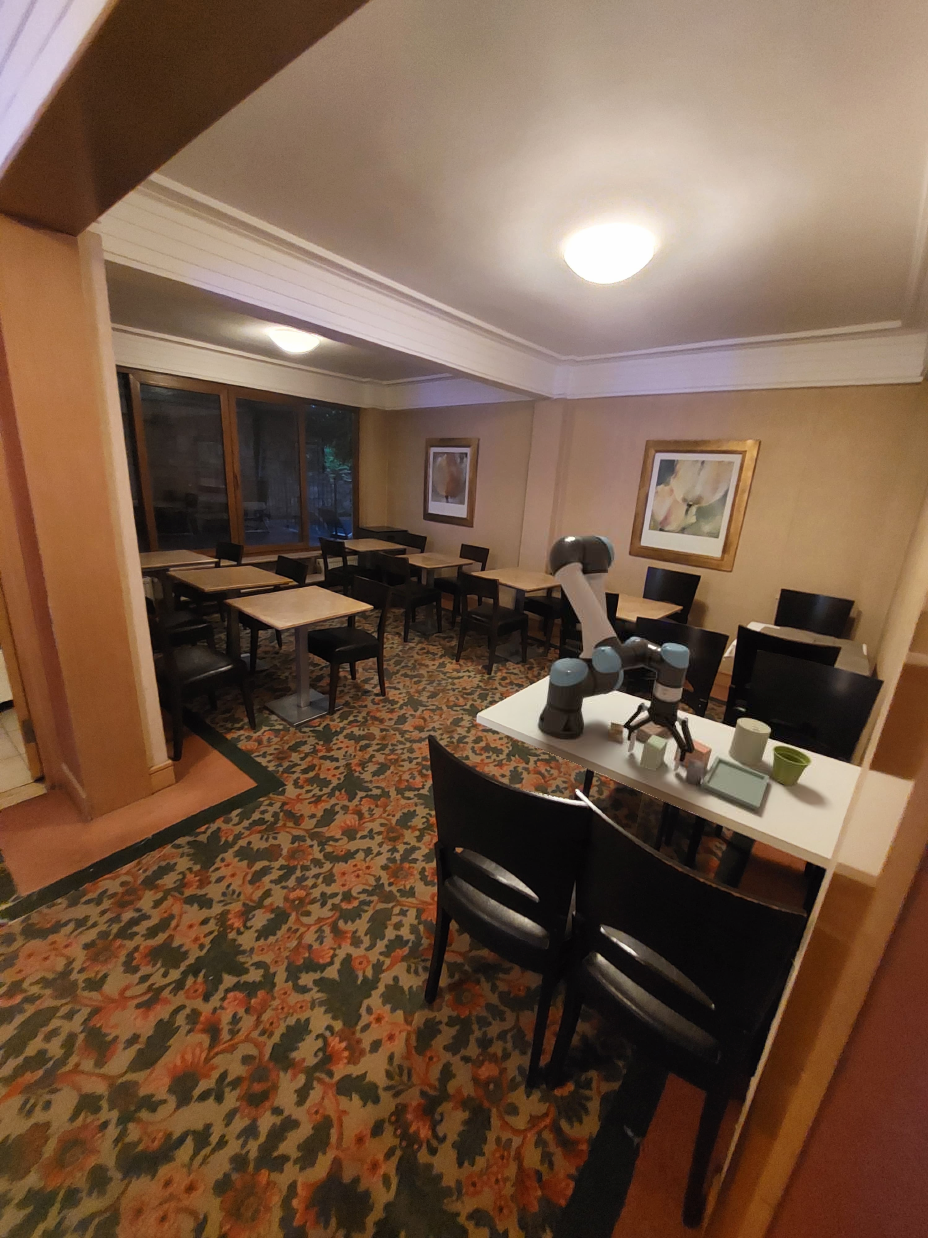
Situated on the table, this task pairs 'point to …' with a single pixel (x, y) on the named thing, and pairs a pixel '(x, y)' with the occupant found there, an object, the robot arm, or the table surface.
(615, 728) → the oak block
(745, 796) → the tray
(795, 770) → the plant pot
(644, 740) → the brick
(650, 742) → the sage block
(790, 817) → the table surface
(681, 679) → the robot arm
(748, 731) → the can
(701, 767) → the grey canister
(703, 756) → the terracotta block
